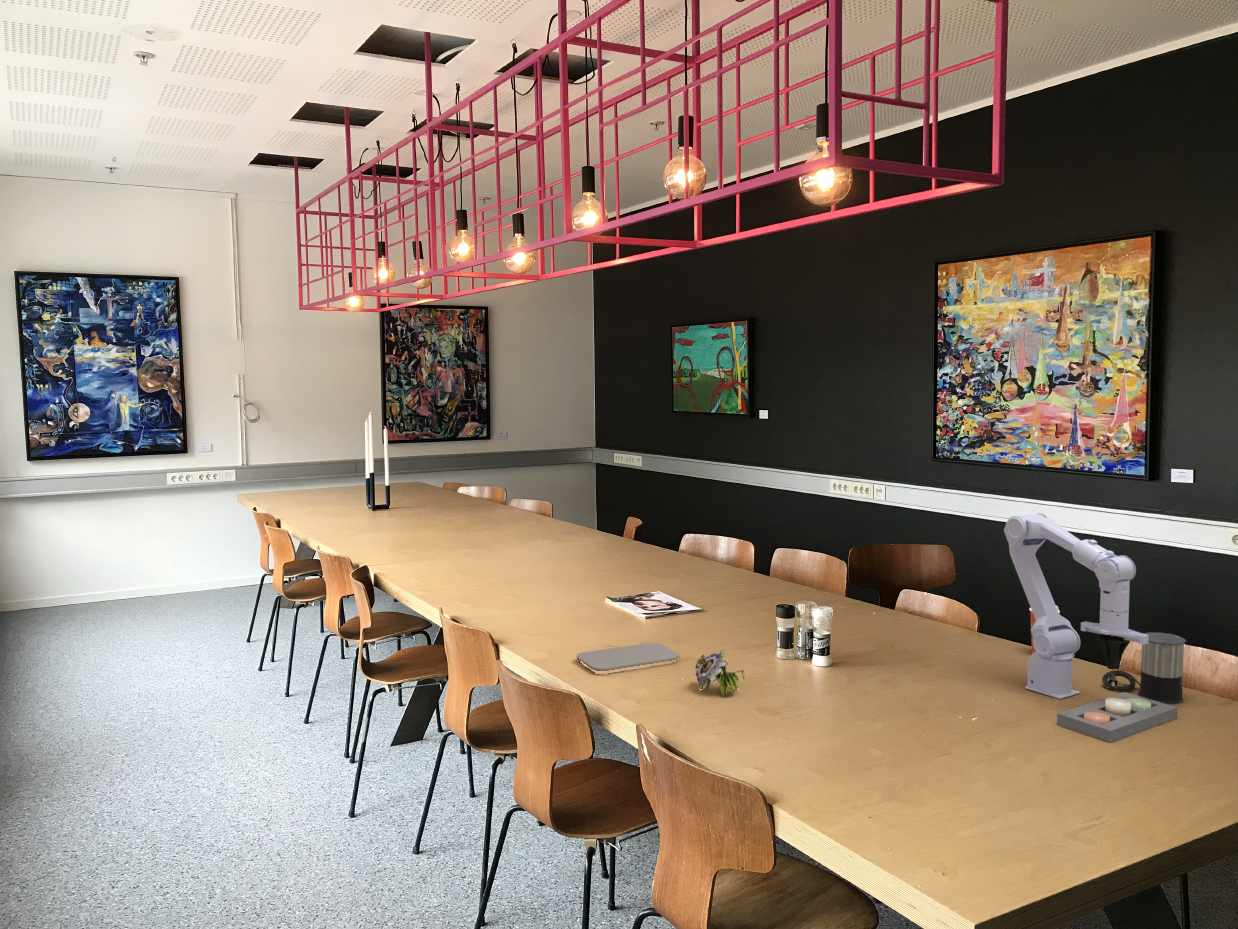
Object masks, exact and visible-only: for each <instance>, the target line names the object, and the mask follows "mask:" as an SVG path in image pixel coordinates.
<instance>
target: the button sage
mask: <svg viewBox="0 0 1238 929" xmlns="http://www.w3.org/2000/svg"><path fill="white" fill-rule="evenodd" d="M1126 700H1127V701H1129V702H1131V706H1132V707H1136V708H1139V709H1142V710H1145V709H1148V708H1151V703H1150V702H1149V701H1147V700H1143V699H1138V698H1128V699H1126Z"/></svg>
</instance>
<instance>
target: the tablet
mask: <svg viewBox="0 0 1238 929" xmlns="http://www.w3.org/2000/svg"><path fill="white" fill-rule="evenodd" d="M577 658H578V659H579V660H580V661H582V662H583V663H584V664H586V665H587V666H588V667H590V668H591V669H593V670H596V671H609V670H615V669H621V668H627V667H634V666H640V665H646V664H653V663H659V662H665V661H672V660H676V659H677V660H678V659H679V658H680V654H679V653H678V652H676V651H674V650H673V649H670V648H668V647H666V646H664V645H663V644H661V643H658V642H646V643H645V642H644V643H637V644H630V645H623V646H616V647H610V648H603V649H596V650H595V649H594V650H590V651H582V652H579V653H577V654H576V659H577ZM578 659H577V660H578ZM579 660H578V661H579Z"/></svg>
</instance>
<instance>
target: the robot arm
mask: <svg viewBox="0 0 1238 929" xmlns="http://www.w3.org/2000/svg"><path fill="white" fill-rule="evenodd" d="M1003 532H1004V535H1005V537H1006V540H1007V543H1008V549H1009V555H1010V558H1011V560H1012V564H1013V566H1014V568H1015V571H1016V573H1017V575H1018V579H1019V582H1020V584H1021V587H1022V588H1023V591H1024V594H1025V597H1026V599H1027V602H1028V604H1029V606H1030V607H1029V608H1031V609H1032V612H1033V614H1034V617H1035V619H1036V622H1035V624H1034V625H1033V627H1032V628H1031V627H1030V634H1031V633H1032V636H1033V646H1034V649H1035V651H1036V652H1034V653H1033V654H1032V653H1031V655H1030V656H1029V658H1028V661H1027V684H1026V685H1025V686H1024V687H1025V689H1026V690H1029V691H1030V690H1031V691H1033V692H1036V693H1039V694H1043V695H1045V696H1050V697H1053V698H1055V699H1059V700H1061V699H1065V698H1068V697H1072V696H1075V695H1079V694H1080V691H1079V690H1076V689H1073V686H1072V685H1073V661H1074V659H1073V658H1075V654H1076V652H1078V651H1079V649H1080V647H1081V638H1080V635H1079V634H1078V632H1077V631H1076V630H1075V629H1074V627H1073V626H1072V624H1071V622H1070V621H1069V619H1067V618H1066V617H1064V616H1062V615H1061V614H1060V613H1058V610H1057V608H1056V606H1057V605H1056V603H1055V601H1054V598H1053V596H1052V592H1051V591H1050V588H1049V586H1048V584H1047V581H1046V578H1045V576H1044V573H1043V571H1042V568H1041V566H1040V563H1039V561H1038V558H1037V557H1036V553H1037V551H1038V550H1039V549H1040V547H1041V546H1042V545H1043V544H1044V543H1045V542H1046V540H1048V541H1050V542H1051V543H1054V544H1056V545H1057V546H1059V547H1061V548H1063V549H1065V550H1067V551H1068V552H1071V554H1072V559H1073V560H1074V561H1076V562H1078V563H1079V564H1081V565H1082V566H1085V568H1087V569H1089V570H1090V571H1092V572H1094V574H1095V576H1096V578H1097V581H1098V584H1099V585H1098V587H1099V589H1100V594H1099V595H1100V596H1099V597H1100V602H1099V623H1098V622H1091V621H1082V622H1080V631H1082V632H1089V633H1093V634H1098V635H1099V636H1098V637H1096V642H1097V643H1098V645H1099V646H1100V649H1101V651H1102V654H1103V657H1104V659H1105V663H1106V668H1107V669H1108V670H1109V669H1110V670H1111V671H1114V670H1118V669H1119V665H1120V662H1121V659H1122V656H1123V654H1124V652H1125V650H1126V649H1127V647H1128V645H1129V644H1130V643H1131V642H1132V643H1133V642H1134V643H1137V644H1139V645H1141V646H1142V645H1144V644H1148V635H1146V634H1143V633H1142V632H1140V631H1136V630H1133V629H1131V628H1130V629H1129V614H1130V611H1129V610H1130V583H1131V582H1130V581H1132V580H1133V579H1134V578H1135V577H1136V573H1137V566H1136V565H1135V562H1134V561H1133V560H1132V559H1131V558H1130V557H1129V556H1128V555H1116V554H1115V552H1114V551H1112V550H1108V549H1106V548H1104V547H1103V546H1101V545H1099V544H1098V541H1096V540H1095V539H1083V540H1081V539H1080V538H1078V537H1076V536H1075V535H1073V534H1072V533H1071V532H1069V531H1067V530H1066V529H1065V528H1063V527H1062V526H1060V525H1059V524H1058V523H1056V522H1055V519H1054V518H1051V517H1050V516H1048V515H1046V514H1045V513H1036V514H1028V515H1012V516H1010V517H1009V518H1008V519H1007V521H1006V523H1005V526H1004V528H1003ZM1048 630H1049V631H1048Z"/></svg>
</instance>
